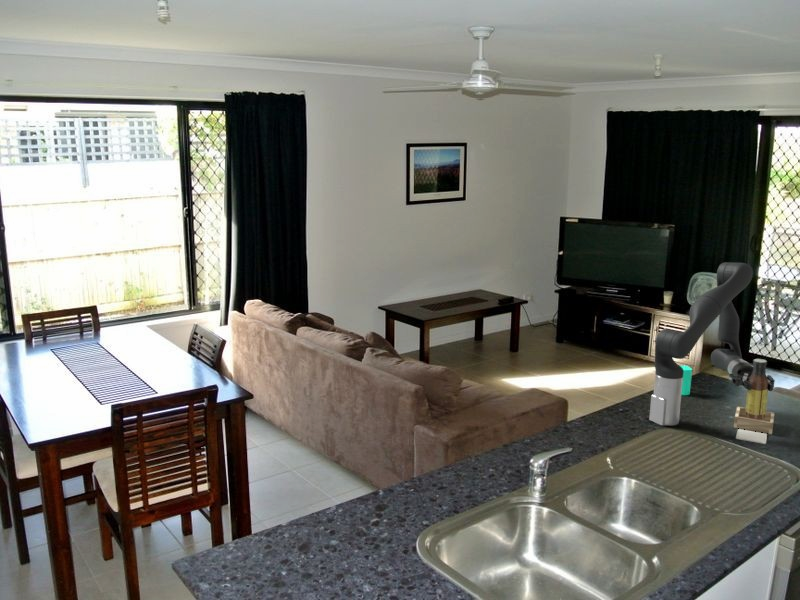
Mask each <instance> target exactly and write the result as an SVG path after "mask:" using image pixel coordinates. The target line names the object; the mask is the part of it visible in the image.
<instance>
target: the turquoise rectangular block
mask: <svg viewBox="0 0 800 600" xmlns="http://www.w3.org/2000/svg"><path fill="white" fill-rule="evenodd" d="M680 366H681V367H682V368H683V371H684V373H683V383H682V393H681V396H689V395H691V387H692V385H691V384H692V375H693V368H691V367H690V366H688V365H686V364H685V363H684V365H680Z"/></svg>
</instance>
